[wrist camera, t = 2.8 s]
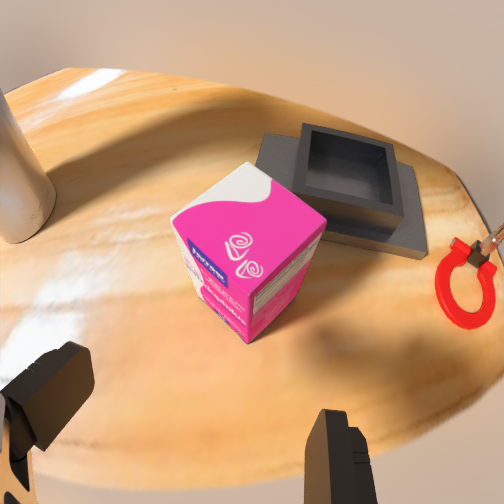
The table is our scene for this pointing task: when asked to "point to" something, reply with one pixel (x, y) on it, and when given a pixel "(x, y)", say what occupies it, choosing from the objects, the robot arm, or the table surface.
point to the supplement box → (247, 247)
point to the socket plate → (350, 187)
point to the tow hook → (479, 259)
